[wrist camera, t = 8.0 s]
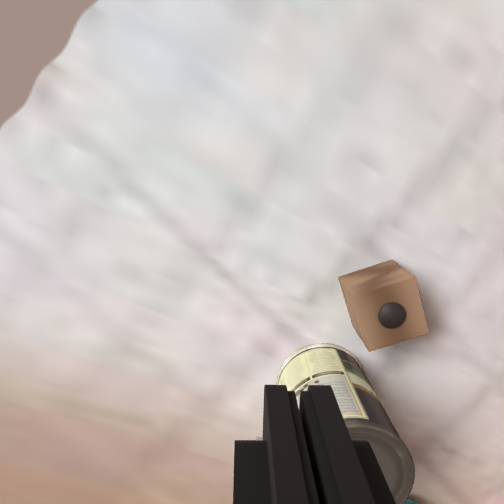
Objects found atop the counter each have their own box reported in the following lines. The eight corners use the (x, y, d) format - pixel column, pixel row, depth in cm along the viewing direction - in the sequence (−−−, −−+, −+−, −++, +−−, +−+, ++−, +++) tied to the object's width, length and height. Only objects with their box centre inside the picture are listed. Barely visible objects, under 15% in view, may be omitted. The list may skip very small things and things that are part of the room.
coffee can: (376, 353, 45) (434, 441, 32) (347, 429, 48) (389, 541, 34) (290, 332, 45) (311, 413, 31) (264, 410, 47) (274, 517, 33)
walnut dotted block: (391, 259, 43) (416, 277, 37) (404, 308, 44) (430, 333, 38) (337, 276, 43) (353, 297, 37) (352, 325, 45) (369, 352, 39)
